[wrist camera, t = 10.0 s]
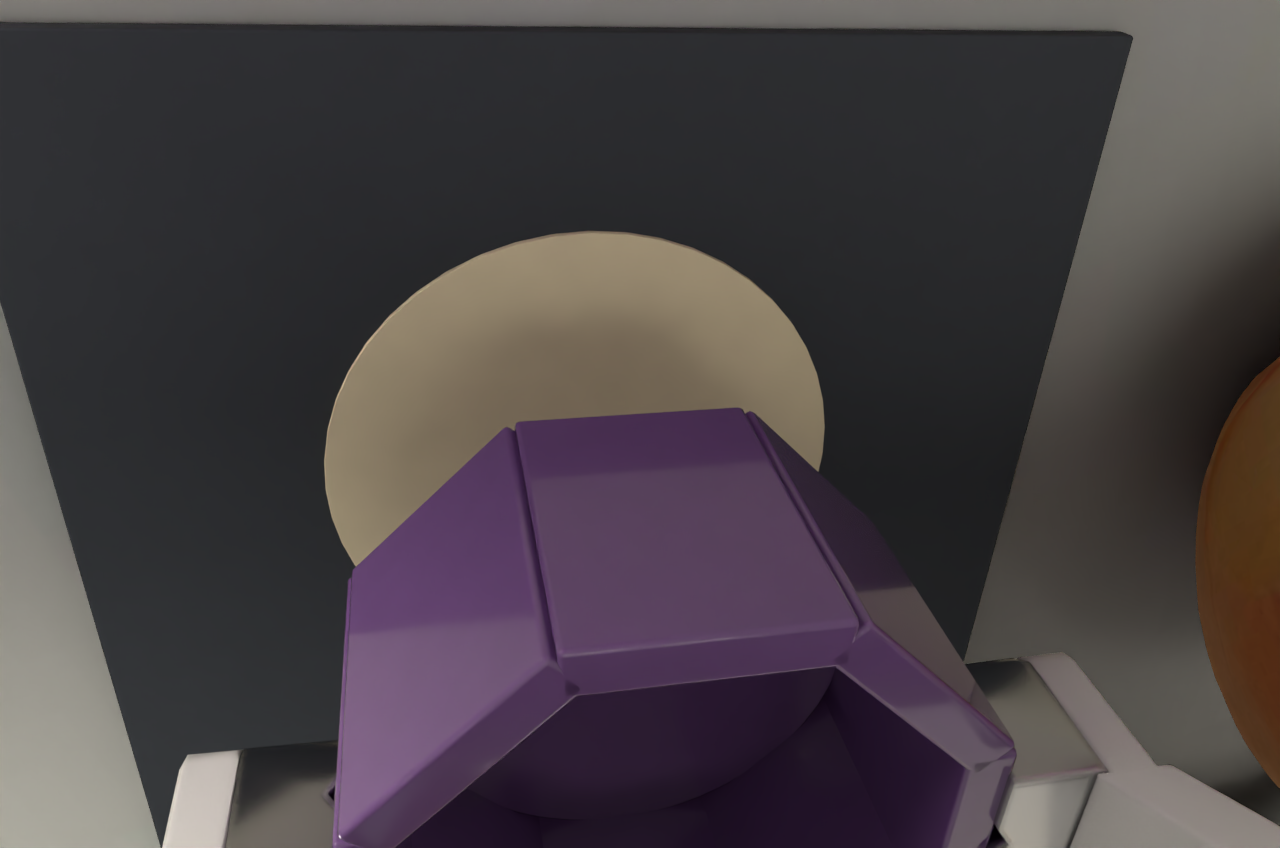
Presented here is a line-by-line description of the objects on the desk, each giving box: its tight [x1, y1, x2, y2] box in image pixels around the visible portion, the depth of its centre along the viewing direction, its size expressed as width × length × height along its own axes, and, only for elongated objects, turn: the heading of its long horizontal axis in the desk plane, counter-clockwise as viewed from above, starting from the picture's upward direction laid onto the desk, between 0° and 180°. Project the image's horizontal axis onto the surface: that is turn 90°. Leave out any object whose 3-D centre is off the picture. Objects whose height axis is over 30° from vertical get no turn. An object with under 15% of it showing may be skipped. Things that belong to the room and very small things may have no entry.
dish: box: [332, 407, 1017, 848], centre depth 11 cm, size 6×6×3 cm
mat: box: [0, 23, 1133, 848], centre depth 18 cm, size 14×24×1 cm, turn 178°
